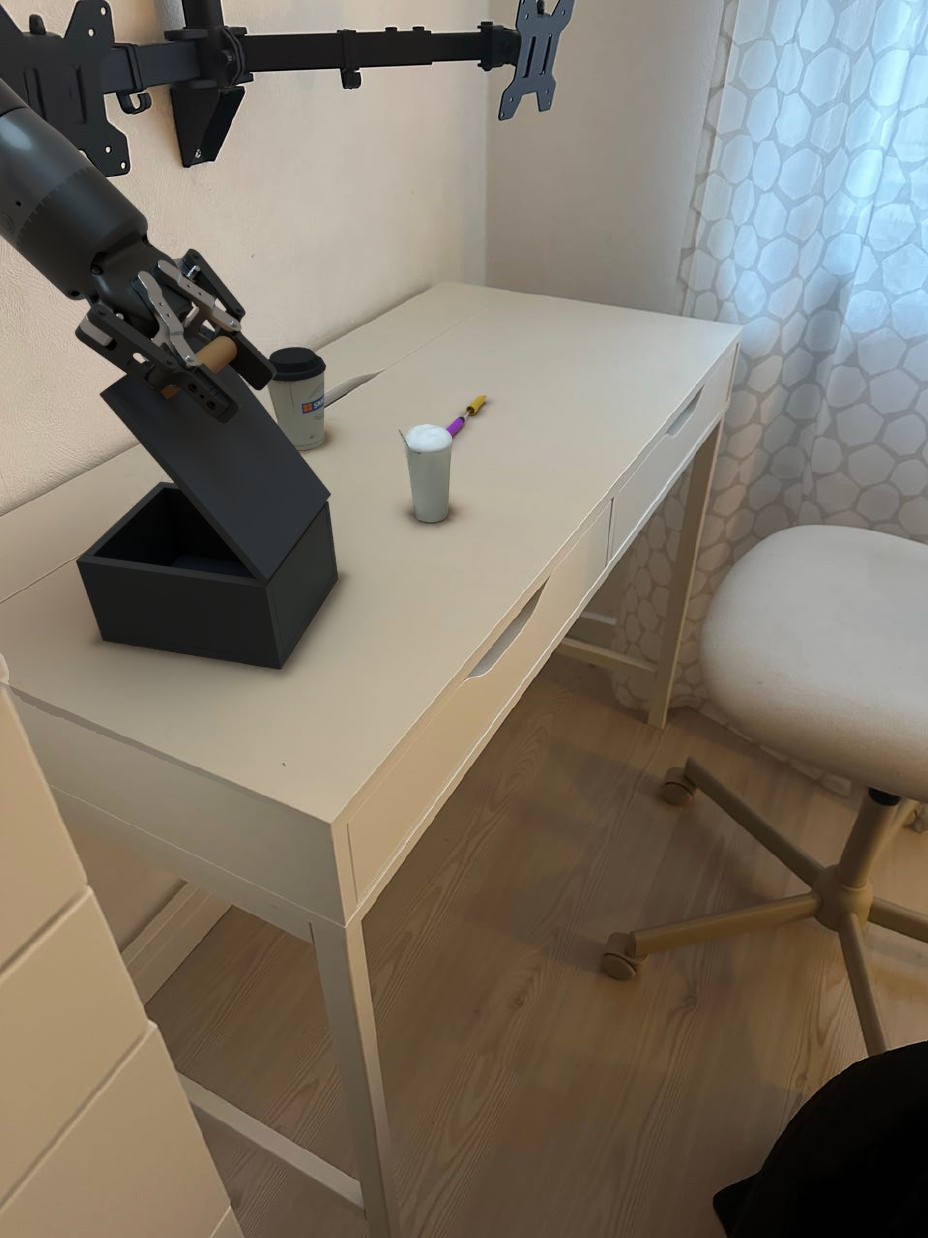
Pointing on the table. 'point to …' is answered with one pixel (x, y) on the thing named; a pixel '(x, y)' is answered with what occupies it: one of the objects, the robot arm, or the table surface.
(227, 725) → the table surface
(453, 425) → the purple yellow rod
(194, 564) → the black open box
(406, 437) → the milkshake
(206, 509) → the lid
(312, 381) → the coffee cup
